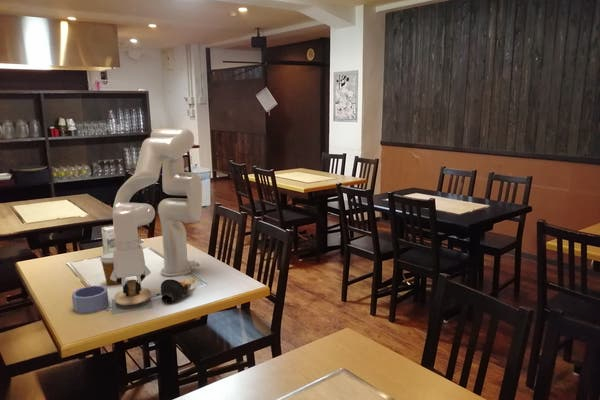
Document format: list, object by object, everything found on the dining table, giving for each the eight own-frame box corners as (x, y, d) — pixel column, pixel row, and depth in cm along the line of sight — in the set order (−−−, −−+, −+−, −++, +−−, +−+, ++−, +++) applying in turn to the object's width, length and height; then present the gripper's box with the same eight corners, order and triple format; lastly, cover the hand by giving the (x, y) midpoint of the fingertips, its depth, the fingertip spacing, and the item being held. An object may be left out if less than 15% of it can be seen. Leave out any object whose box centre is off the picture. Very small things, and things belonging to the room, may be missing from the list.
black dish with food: (149, 293, 157) (168, 262, 172) (167, 316, 161) (184, 283, 177) (171, 286, 154) (188, 255, 169) (188, 309, 158) (203, 276, 174)
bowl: (108, 299, 163) (107, 283, 162) (108, 311, 153) (107, 295, 152) (75, 304, 159) (73, 288, 158) (72, 317, 149) (70, 300, 148)
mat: (149, 295, 167) (149, 293, 167) (152, 309, 155) (152, 307, 155) (111, 301, 162) (111, 299, 162) (112, 315, 150) (111, 314, 150)
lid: (149, 287, 167) (147, 272, 165) (152, 301, 156) (150, 284, 154) (114, 293, 162) (112, 277, 161) (114, 307, 151) (113, 291, 150)
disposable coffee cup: (109, 290, 172) (106, 260, 169) (98, 283, 178) (95, 254, 176) (132, 283, 179) (130, 254, 176) (121, 277, 185) (119, 249, 183)
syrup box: (115, 254, 215) (113, 224, 212) (120, 257, 210) (118, 227, 208) (103, 257, 211) (100, 227, 208) (108, 260, 207) (105, 229, 204)
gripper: (151, 238, 161) (155, 285, 165) (101, 244, 155) (107, 293, 159) (153, 244, 154) (157, 294, 158) (101, 250, 148) (107, 302, 152)
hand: (132, 293), depth 159 cm, fingers closed on lid, 3 cm apart
